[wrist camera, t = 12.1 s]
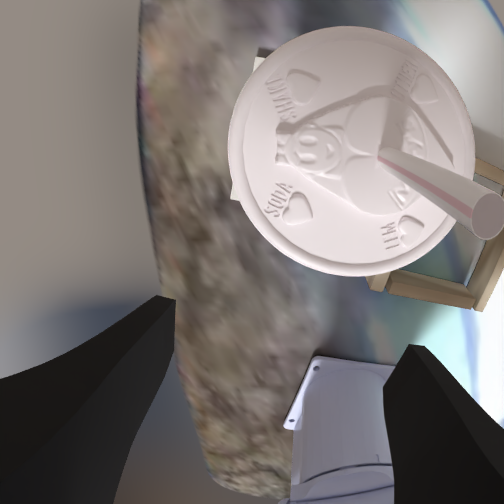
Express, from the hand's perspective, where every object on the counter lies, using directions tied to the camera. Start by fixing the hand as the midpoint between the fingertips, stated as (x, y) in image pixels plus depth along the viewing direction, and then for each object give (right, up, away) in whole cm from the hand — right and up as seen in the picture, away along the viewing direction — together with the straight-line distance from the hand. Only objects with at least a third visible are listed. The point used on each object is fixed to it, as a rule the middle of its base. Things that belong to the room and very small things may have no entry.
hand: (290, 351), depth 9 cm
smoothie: (+3, +9, +7) cm, 12 cm away
